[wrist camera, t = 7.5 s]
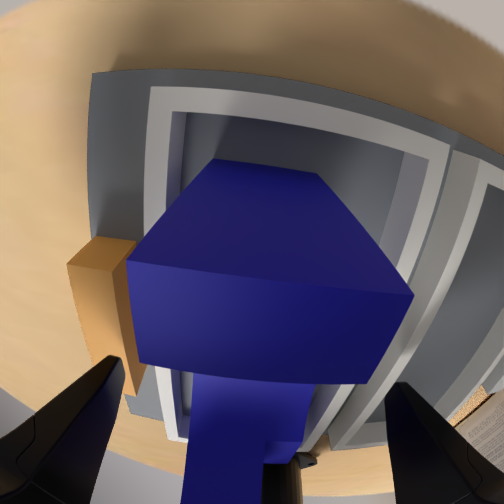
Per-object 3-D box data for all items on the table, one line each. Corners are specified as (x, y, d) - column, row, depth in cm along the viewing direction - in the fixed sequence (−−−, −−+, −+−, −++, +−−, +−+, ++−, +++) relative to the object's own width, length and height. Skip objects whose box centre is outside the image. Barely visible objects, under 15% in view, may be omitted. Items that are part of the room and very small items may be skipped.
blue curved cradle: (284, 414, 14) (289, 518, 8) (198, 406, 13) (182, 511, 8) (363, 183, 8) (493, 301, 3) (213, 158, 8) (126, 260, 3)
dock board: (559, 196, 9) (594, 217, 6) (443, 408, 16) (456, 438, 14) (106, 75, 8) (54, 69, 5) (135, 401, 15) (122, 440, 13)
